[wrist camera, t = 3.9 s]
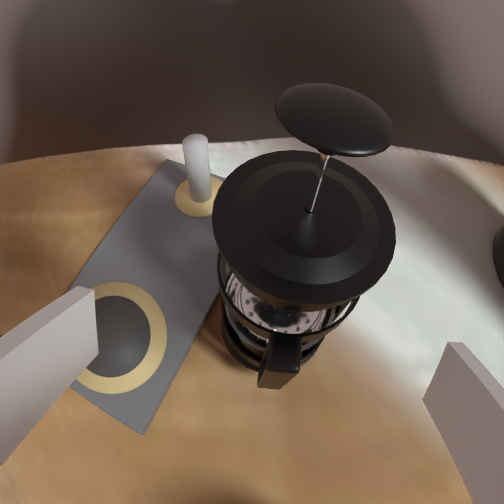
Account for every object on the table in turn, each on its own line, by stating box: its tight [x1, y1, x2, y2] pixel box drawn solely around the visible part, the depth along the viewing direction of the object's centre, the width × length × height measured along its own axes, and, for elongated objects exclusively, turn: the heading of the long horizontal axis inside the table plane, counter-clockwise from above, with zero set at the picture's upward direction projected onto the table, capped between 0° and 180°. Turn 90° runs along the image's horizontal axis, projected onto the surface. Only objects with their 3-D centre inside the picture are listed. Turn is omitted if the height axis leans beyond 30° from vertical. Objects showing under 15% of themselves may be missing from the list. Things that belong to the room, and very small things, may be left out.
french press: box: [212, 83, 396, 389], centre depth 19 cm, size 12×9×23 cm
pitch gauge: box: [68, 134, 231, 435], centre depth 28 cm, size 14×28×9 cm, turn 156°
